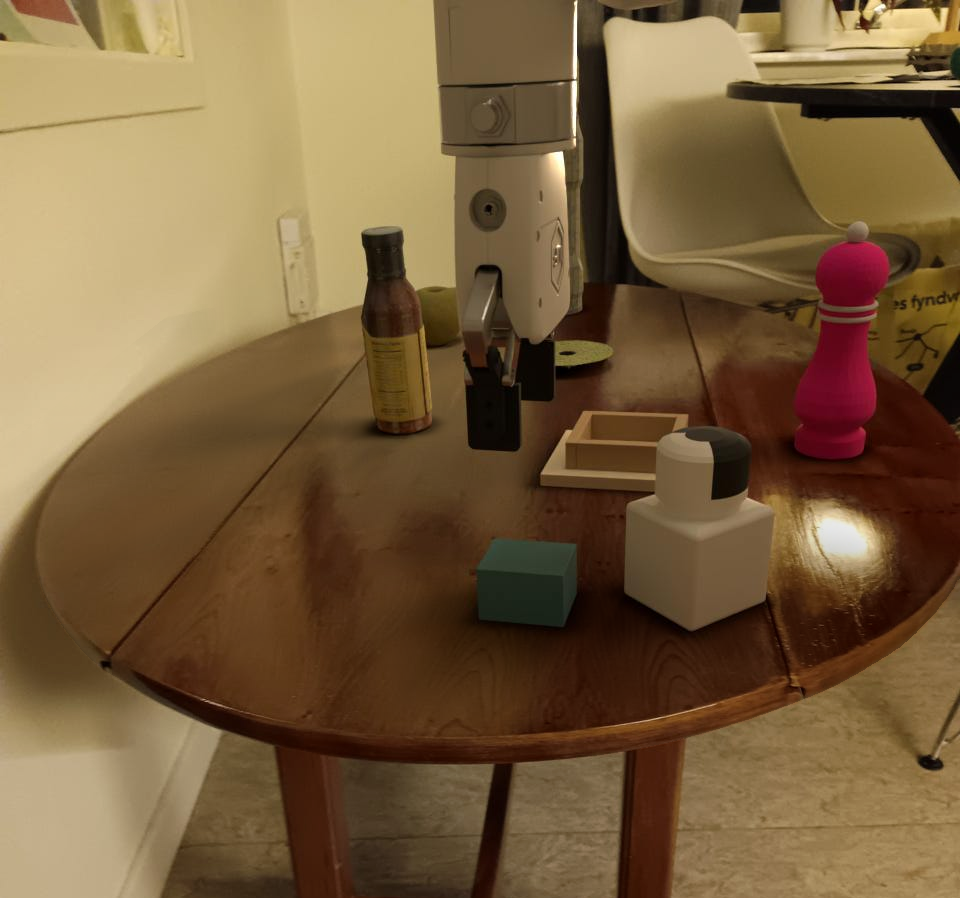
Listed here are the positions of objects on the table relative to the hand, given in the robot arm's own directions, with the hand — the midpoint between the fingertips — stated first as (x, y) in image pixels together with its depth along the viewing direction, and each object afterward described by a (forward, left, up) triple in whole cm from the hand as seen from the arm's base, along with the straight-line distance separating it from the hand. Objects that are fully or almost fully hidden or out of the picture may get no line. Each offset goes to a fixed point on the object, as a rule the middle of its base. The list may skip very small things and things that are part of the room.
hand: (514, 422), depth 63 cm
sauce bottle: (+21, -36, -14) cm, 44 cm away
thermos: (+16, -90, -14) cm, 93 cm away
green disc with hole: (+8, -60, -14) cm, 62 cm away
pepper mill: (-22, -35, -14) cm, 43 cm away
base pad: (-4, -28, -14) cm, 31 cm away
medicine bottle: (-12, -3, -14) cm, 18 cm away
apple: (+28, -70, -14) cm, 77 cm away
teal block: (-1, 0, -14) cm, 14 cm away
